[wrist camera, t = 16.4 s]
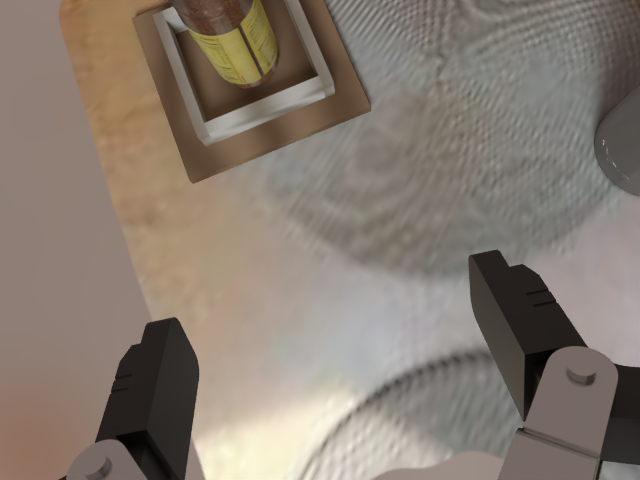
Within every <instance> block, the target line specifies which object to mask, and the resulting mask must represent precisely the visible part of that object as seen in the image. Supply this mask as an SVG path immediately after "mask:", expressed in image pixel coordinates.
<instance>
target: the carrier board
mask: <svg viewBox="0 0 640 480" xmlns="http://www.w3.org/2000/svg"><path fill="white" fill-rule="evenodd" d="M260 1H261V4H262V6H263V9H264V11H265V14H266V16H267V19H268V21H269V24H270V26H271V29H272V31H273V33H274V36H275V39H276V42H277V48H278V52H279V61H278V65H277V67H276V70H275V72H274V74H273V75H272V77H271V78H270V79H269V80H268V81H266V82H265V83H262V84H261V85H258V86H255V87H253V88H247V89H243V88H240V87H237V86H234V85H232V84H231V83H229V82H228V81H226V80H225V79H224V78H222V77H221V76H220V75H219V74H218V72H217V71H216V69H215V68H214V67H213V65H212V64H211V62H210V61H209V59H208V58H207V56H206V55H205V54H204V52H203V51H202V49H201V48H200V47H199V45H198V44H197V42H196V41H195V39H194V38H193V37H192V35H191V34H190V32H189V31H188V29H187V28H186V27H185V25H184V23H183V22H182V20H181V19H180V17H179V15H178V13H177V11H176V10H175V8H174V7H173V6H172V4H171V3H167V4H165V5H163V6H160V7H158V8H155V9H153V10H151V11H148V12H146V13H143V14H141V15H139V16H136V17H134V18H132V21H133V24H134V27H135V30H136V32H137V35H138V38H139V41H140V44H141V46H142V49H143V52H144V55H145V57H146V60H147V63H148V66H149V69H150V71H151V74H152V77H153V80H154V82H155V85H156V88H157V91H158V94H159V96H160V99H161V102H162V105H163V108H164V110H165V113H166V116H167V119H168V121H169V124H170V127H171V130H172V133H173V135H174V138H175V141H176V144H177V147H178V149H179V152H180V155H181V158H182V160H183V163H184V166H185V169H186V172H187V174H188V177H189V180H190V181H191V182H192V183H193V184H194V183H196V182H199V181H201V180H203V179H206V178H208V177H211V176H213V175H216V174H218V173H220V172H223V171H225V170H228V169H230V168H233V167H235V166H238V165H240V164H242V163H245V162H247V161H250V160H252V159H255V158H257V157H259V156H262V155H264V154H267V153H269V152H272V151H274V150H277V149H279V148H281V147H284V146H286V145H289V144H291V143H294V142H296V141H298V140H301V139H303V138H306V137H308V136H311V135H313V134H315V133H318V132H320V131H323V130H325V129H328V128H330V127H333V126H335V125H337V124H340V123H342V122H345V121H347V120H350V119H352V118H354V117H357V116H359V115H362V114H364V113H367V112H369V111H371V106H370V104H369V102H368V100H367V97H366V95H365V93H364V91H363V88H362V86H361V84H360V82H359V79H358V77H357V75H356V73H355V70H354V68H353V66H352V64H351V61H350V59H349V57H348V55H347V52H346V50H345V48H344V46H343V43H342V41H341V39H340V36H339V34H338V32H337V30H336V27H335V25H334V23H333V21H332V18H331V16H330V14H329V12H328V9H327V7H326V5H325V3H324V0H260Z"/></svg>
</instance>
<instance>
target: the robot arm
mask: <svg viewBox="0 0 640 480" xmlns="http://www.w3.org/2000/svg"><path fill="white" fill-rule="evenodd" d="M595 151H596V157H597V160H598V162H599V165H600V167H601V169H602V170H603V172H604V173H605V175H606V176H607V177H608V178H609V179H610V180H611V181H612V182H613V183H614V184H615V185H617V186H618V187H620V188H621V189H623V190H624V191H626V192H629V193H631V194H634V195H637V196H640V84H639V85H638V86H637V87H636V88H635V89H634V90H633V91H631V92H630V93H629V94H628V95H627V96H626V97H625V98H624V99H623V100H622V101H620V102H619V103H618V104H617V105H616V106H615V107H614V108H613V109H612V110H611V111H610V112H609V113H608V114H607V115H606V116H605V117H604V118H603V120H602V121H601V123H600V125H599V127H598V130H597V133H596V136H595ZM468 261H469V279H470V296H471V304H472V308H473V312H474V315H475V318H476V321H477V323H478V325H479V327H480V330H481V332H482V334H483V336H484V338H485V340H486V342H487V345H488V347H489V349H490V351H491V353H492V355H493V357H494V360H495V362H496V364H497V366H498V368H499V370H500V373H501V375H502V377H503V379H504V381H505V383H506V385H507V388H508V390H509V392H510V394H511V396H512V398H513V400H514V403H515V405H516V407H517V409H518V411H519V413H520V416H521V418H522V420H523V422H524V421H525V424H524V426H523V428H522V429H521V428H518V429H517V431H516V433H515V435H514V437H513V440H512V442H511V445H510V448H509V450H508V453H507V456H506V458H505V461H504V464H503V466H502V469H501V472H500V474H499V477H498V480H599V478H600V474H601V470H602V465H603V461H610V462H618V463H627V464H635V465H640V367H628V366H622V365H618V364H614V363H613V362H612V361H611V360H610V359H609V358H608V357H606V356H605V355H604V354H602V353H600V352H598V351H596V350H594V349H590V348H588V346H587V345H586V344H585V342H584V341H583V339H582V338H581V336H580V335H579V333H578V332H577V330H576V329H575V327H574V326H573V325H572V323H571V322H570V320H569V319H568V317H567V316H566V314H565V313H564V311H563V310H562V308H561V307H560V305H559V304H558V303H557V302H556V299H555V298H554V296H553V295H552V293H551V292H549V290H548V288H547V286H546V285H545V283H544V282H543V280H542V279H541V277H540V276H539V275H538V274H537V273H535V272H534V271H532V270H531V269H529V268H528V267H526V266H525V265H523V264H521V265H516V266H511V267H509V266H508V264H507V262H506V261H505V259H504V257H503V256H502V254H501V253H500V251H499V250H492V251H488V252H483V253H478V254H474V255H470V256H469V260H468ZM115 379H116V380H115V381H114V383H113V386H112V389H111V394H110V396H109V399H108V402H107V405H106V409H105V412H104V415H103V418H102V421H101V425H100V428H99V432H98V434H97V438H96V441H95V444H93V445H91V446H89V447H88V448H86V449H85V450H84V451H83V452H81V453H80V454H79V455H78V456H77V458H76V459H75V460H74V461H73V463H72V464H71V466H70V468H69V470H68V473H67V475H66V476H65V477H63V478H61V479H59V480H185V473H186V466H187V459H188V452H189V445H190V438H191V431H192V424H193V417H194V410H195V403H196V396H197V389H198V381H199V365H198V360H197V357H196V354H195V352H194V350H193V348H192V346H191V344H190V342H189V340H188V338H187V336H186V334H185V332H184V330H183V328H182V326H181V324H180V322H179V320H178V319H177V318H175V317H173V318H168V319H164V320H159V321H154V322H150V323H147V325H146V327H145V330H144V333H143V337H142V341H141V344H136V345H132V346H131V347H130V349H129V350H128V351H127V353H126V354H125V355H124V357H123V358H122V359H121V361H120V363H119V367H118V370H117V373H116V376H115Z"/></svg>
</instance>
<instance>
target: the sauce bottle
mask: <svg viewBox="0 0 640 480" xmlns="http://www.w3.org/2000/svg"><path fill="white" fill-rule="evenodd" d="M169 2H170V3H171V4H172V6H173V7H174V8H175V10H176V11H177V13H178V15H179V17H180V19H181V20H182V22H183V23H184V25H185V27H186V28H187V29H188V31H189V32H190V34H191V35H192V37H193V38H194V39H195V41H196V42H197V44H198V45H199V47H200V48H201V49H202V51H203V52H204V54H205V55H206V56H207V58H208V59H209V61H210V62H211V64H212V65H213V67H214V68H215V69H216V71H217V72H218V74H219V75H220V76H221V77H222V78H224V79H225V80H226V81H228V82H229V83H231V84H232V85H234V86H237V87H240V88H243V89H247V88H253V87H255V86H258V85H261V84H262V83H265V82H266V81H268V80H269V79H270V78H271V77H272V75H273V74H274V72H275V70H276V67H277V65H278V61H279V52H278V48H277V42H276V39H275V36H274V33H273V31H272V29H271V26H270V24H269V21H268V19H267V16H266V14H265V11H264V9H263V6H262V4H261V1H260V0H169Z"/></svg>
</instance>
